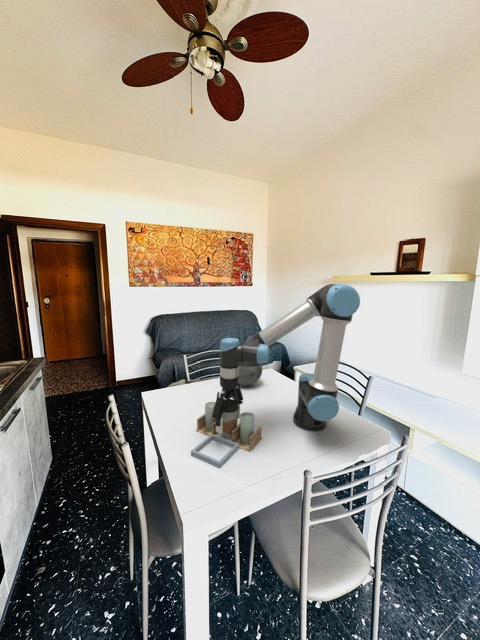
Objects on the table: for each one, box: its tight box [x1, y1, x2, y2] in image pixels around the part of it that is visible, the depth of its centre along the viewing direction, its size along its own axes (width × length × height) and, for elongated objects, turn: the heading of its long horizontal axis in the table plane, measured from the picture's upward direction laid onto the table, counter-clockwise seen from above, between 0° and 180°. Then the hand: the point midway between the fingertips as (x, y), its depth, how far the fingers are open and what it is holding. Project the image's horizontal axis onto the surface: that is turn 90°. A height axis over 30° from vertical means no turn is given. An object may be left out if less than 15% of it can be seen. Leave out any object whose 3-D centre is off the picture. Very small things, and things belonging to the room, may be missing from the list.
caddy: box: [195, 413, 263, 453], centre depth 111 cm, size 26×11×6 cm, turn 60°
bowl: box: [238, 363, 263, 387], centre depth 167 cm, size 21×21×15 cm
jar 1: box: [204, 401, 216, 432], centre depth 115 cm, size 6×6×11 cm
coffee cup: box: [220, 398, 239, 440], centre depth 110 cm, size 8×8×15 cm
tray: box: [190, 434, 240, 469], centre depth 100 cm, size 13×13×2 cm
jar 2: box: [239, 411, 255, 445], centre depth 106 cm, size 6×6×11 cm
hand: (228, 424), depth 110 cm, fingers open, 13 cm apart
